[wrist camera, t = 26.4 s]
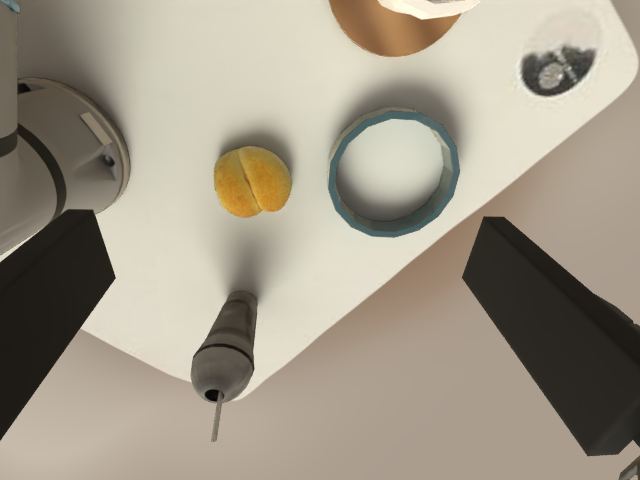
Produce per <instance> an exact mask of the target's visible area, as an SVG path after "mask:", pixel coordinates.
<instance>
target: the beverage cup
mask: <svg viewBox="0 0 640 480" xmlns="http://www.w3.org/2000/svg"><path fill="white" fill-rule="evenodd" d="M256 319H257V300H256V298H255V297H254V296H253V295H252V294H250V293H248V292H244V291H238V292H234V293H232V294H231V295H230V296H229V297H228V299H227V301H226V302H225V304H224V305H223V307H222V309H221V311H220V313H219V315H218V317H217V319H216V321H215V322H214V324H213V326H212V328H211V330H210V332H209V334H208V336H207V338H206V340H205V341H204V343H203V344H202V345H201V347H200V348H199V350H198V351H197V352H196V353H195V355H194V356H193V361H192V368H191V380H192V384H193V387H194V389H195V391H196V392H197V394H198V395H199V396H200V397H201V398H203V399H204V400H206V401H208V402H212V403H217V407H216V413H215V420H214V426H213V433H212V439H211V442H216V441H217V434H218V427H219V419H220V413H221V406H222V403H224V402H228V401H230V400H232V399H234V398H236V397H237V396H239V395H240V394H241V393H242V391H243V390H244V389H245V388H246V387H247V385H248V383H249V381H250V378H251V377H252V374H253V371H254V355H253V347H254V338H255V328H256Z"/></svg>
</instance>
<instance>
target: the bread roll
mask: <svg viewBox="0 0 640 480" xmlns="http://www.w3.org/2000/svg"><path fill="white" fill-rule="evenodd" d="M291 185H292V180H291V175H290V172H289V170H288V168H287V166H286V165H285V164H284V163H283V162H282V161H281V159H280V158H279V157H278V156H276V155H275V154H274V153H272V152H270V151H269V150H267V149H264V148H260V147H254V146H245V147H241V148H239V149H236V150H232V151H229V152H227V153H226V154H224V155H223V156H222V157H221V158H220V159H219V160H218V161H217V162H216V164H215V168H214V186H215V191H216V192H217V196H218V199H219V201H220V204H221V206H222V207H223V208H224V209H226V210H227V211H229V212H230V213H232V214H233V215H235V216H239V217H252V216H254V215H257V214H258V213H260V212H261V211H262V210H264V211H268V212H275V211H278V210H279V209H281V208H282V207H283V206H284V205H285V203H286V202H287V200H288V198H289V195H290V191H291Z"/></svg>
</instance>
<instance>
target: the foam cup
mask: <svg viewBox="0 0 640 480" xmlns="http://www.w3.org/2000/svg"><path fill="white" fill-rule="evenodd" d="M481 1H483V0H378V2H379V3H380V4H381V6H383V7H386V8H388V9H390V10H392V11H395V12H398V13H405V14H411V15H413V16H415V17H417V18H419V19H422V20H423V19H431V18H439V17H447V16H454V15H457V14H460V13H463V12H466V11H468V10H469V9H471V8H472V7H474V6H475V5H477V4H478V3H480V2H481Z"/></svg>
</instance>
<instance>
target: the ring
mask: <svg viewBox="0 0 640 480" xmlns="http://www.w3.org/2000/svg"><path fill="white" fill-rule="evenodd" d="M389 119H404V120H417V121H418V122H420V123H422V124H424V125H426V126H427V127H429V128H430V130H431V131H432V132H433V134H434V135H435V137H436V138H437V140H438V141H439V143H440V144H441V149H442V155H443V162H444V168H443V172H442V176H441V180H440V184H439V186H438V188H437V189H436V191H435V192H434V194H433V195H432V197H431V198H430V199H429V201H428V202H427V204H425V205H424V206H422V207H421V208H420V209H418V210H417V211H415V212H414V213H413V214H411V215H410V216H407V217H404V218H401V219H397V220H394V221H391V222H389V221H371V220H368V219H366V218H364V217H362V216H360V215H357V214H355V213H353V212H352V211H351V210H350V209H349V208H348V206H347V205H346V204H345V203H344V202H343V201H342V200H341V199H340V197H339V194H338V191H337V188H336V184H335V182H336V171H337V164H338V162H339V160H340V158H341V157H342V155H343V153H344V151H345V149H346V147H347V145H348V143H350V142H351V141H352V140H353V139H354V138H355V137H357V136H358V135H359V134H360V133H361V132H362V131H364V130H365V129H366V128H367V127H369V126H372V125H375V124H378V123H381V122H384V121H386V120H389ZM459 173H460V168H459V160H458V153H457V147H456V145H455V143H454V142H453V140H452V139H451V137H450V136H449V134H448V133H447V131H446V130H445V128H444V127H443V126H442V125H441V124H439V123H437V122H436V121H434V120H432V119H430V118H429V117H427V116H425V115H423V114H422V113H420V112H418V111H416V110H414V109H409V108H396V107H384V108H382V109H379V110H376V111H373V112H370V113H367V114H364V115H362V116H360V117H359V118H358V119H357V120H356V121H354V122H353V123H352V124H351V125H350V126H349V127H348V128H346V129H345V130H344V131H343V132H342V133H341V134H340V136H339V138H338V140H337V142H336V144H335V146H334V148H333V150H332V152H331V154H330V156H329V164H328V176H327V183H328V190H329V193H330V196H331V199H332V202H333V205H334V207H335V210H336V211H337V213H338V214H339V215H340V216H341V217H342V218H343V219H344V220H345V221H346V222H347V223H348V224H349V226H350V227H352V228H354V229H356V230H359V231H361V232H363V233H365V234H368V235H370V236H375V237H393V238H395V237H398V236H401V235H405V234H408V233H412V232H415V231H418V230H420V229H421V228H423V227H424V226H425V225H427V224H428V223H430V222H431V221H433V220H434V219H435V218H437V217H438V216H439V215H440V214H441V212H442V211H443V209H444V208H445V207H446V205H447V204H448V203H449V201H450V200H451V198H452V197H453V195H454V192H455V188H456V184H457V181H458V177H459Z"/></svg>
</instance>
